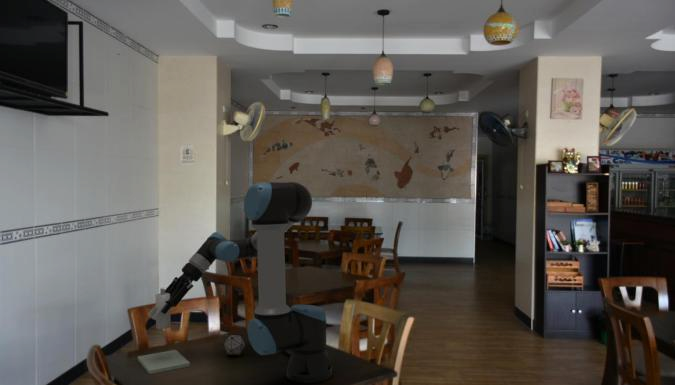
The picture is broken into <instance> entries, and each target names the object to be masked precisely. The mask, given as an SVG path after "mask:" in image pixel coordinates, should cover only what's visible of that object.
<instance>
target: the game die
mask: <svg viewBox="0 0 675 385" xmlns="http://www.w3.org/2000/svg"><path fill="white" fill-rule="evenodd" d="M242 336H243V333H241V334H240V335H239V334H238V335H237V334H231V333H228V337H227V338H226V340H225V341H224V343H221V345H223V347H224V348H225V351H226V357H228V356H231V355H232V356H233V355H234V356H238V357H239V358H240V357H241V353H242V351H243V350H244V348H245V347H248V346H247V344H245V342H244V339H243V337H242Z"/></svg>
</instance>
